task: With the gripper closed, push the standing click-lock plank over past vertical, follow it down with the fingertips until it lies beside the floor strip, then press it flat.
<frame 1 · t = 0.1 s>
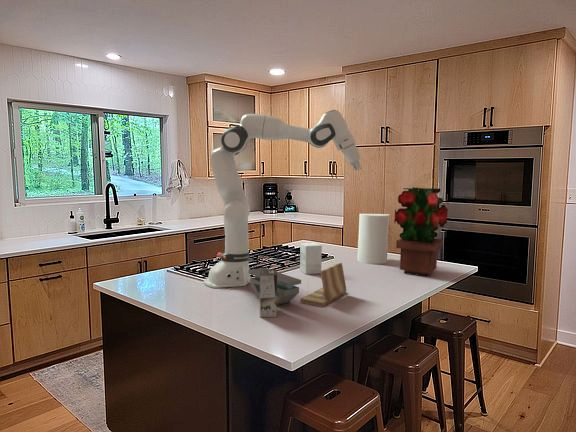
hand: (358, 169, 204), 54 cm above the worktop, tool tilted 30°, fingers open, 8 cm apart
cylinder: (372, 261, 261), on the worktop
supplement box: (310, 272, 231), on the worktop
coffee box: (267, 313, 168), on the worktop
plank: (334, 281, 185), point 8 cm above the worktop, hinge at 103.0°
floor strip: (334, 299, 186), on the worktop
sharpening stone: (273, 300, 183), on the worktop
potted plant: (418, 272, 236), on the worktop
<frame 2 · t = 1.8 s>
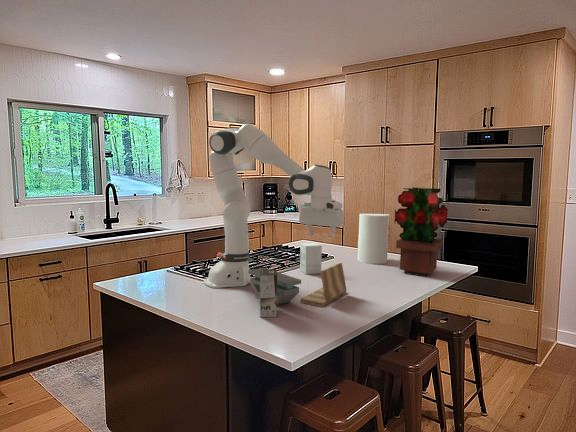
hand: (320, 235, 188), 26 cm above the worktop, tool pointing down, fingers open, 8 cm apart
nothing on the worktop moved.
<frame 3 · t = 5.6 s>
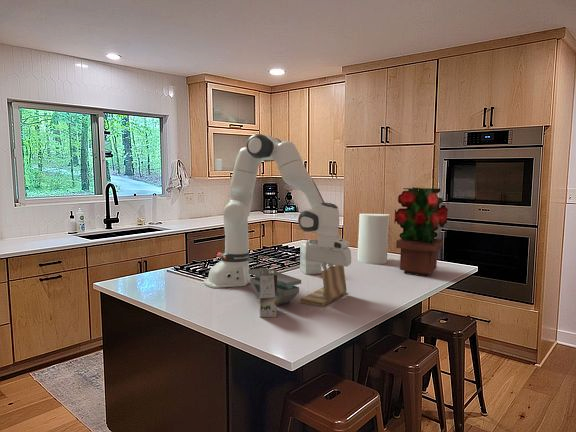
hand: (327, 273, 187), 11 cm above the worktop, tool pointing down, fingers closed
plank: (334, 281, 185), point 8 cm above the worktop, hinge at 99.9°, touching gripper
everything else where it was.
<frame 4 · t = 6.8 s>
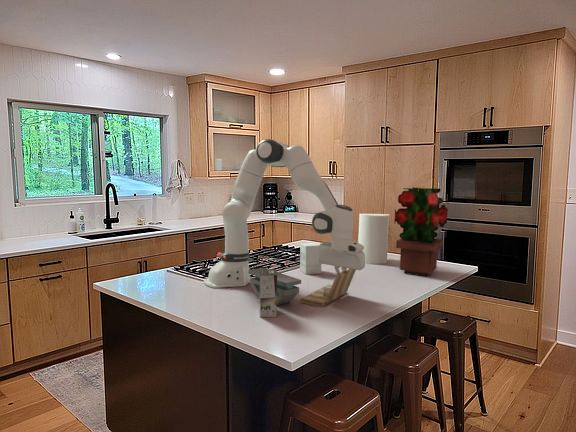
hand: (340, 276, 184), 10 cm above the worktop, tool pointing down, fingers closed
plank: (341, 284, 184), point 7 cm above the worktop, hinge at 69.7°, touching gripper
everything else where it was.
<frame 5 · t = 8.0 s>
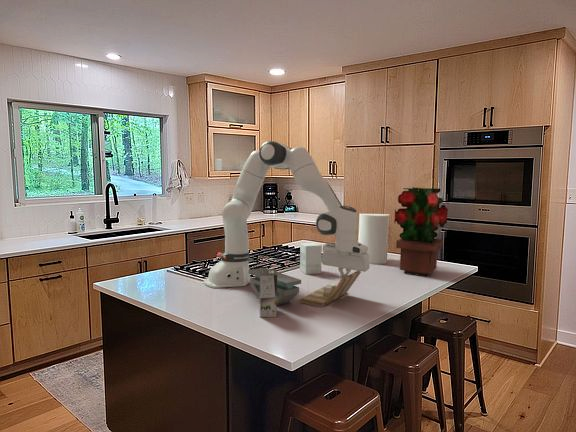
hand: (344, 278, 183), 10 cm above the worktop, tool pointing down, fingers closed
plank: (344, 286, 183), point 6 cm above the worktop, hinge at 57.9°, touching gripper
everything else where it was.
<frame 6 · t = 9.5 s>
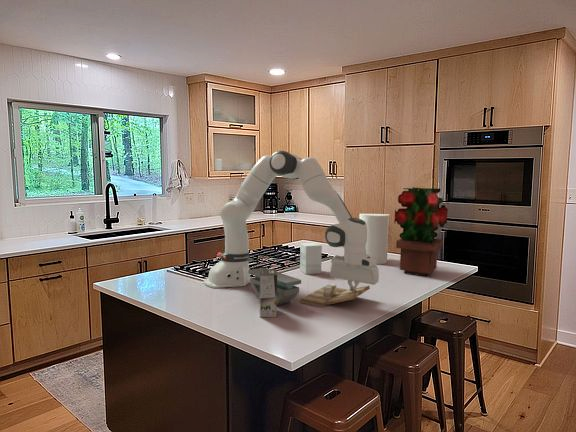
hand: (353, 291, 181), 5 cm above the worktop, tool pointing down, fingers closed
plank: (348, 294, 182), point 3 cm above the worktop, hinge at 21.5°, touching gripper
everything else where it was.
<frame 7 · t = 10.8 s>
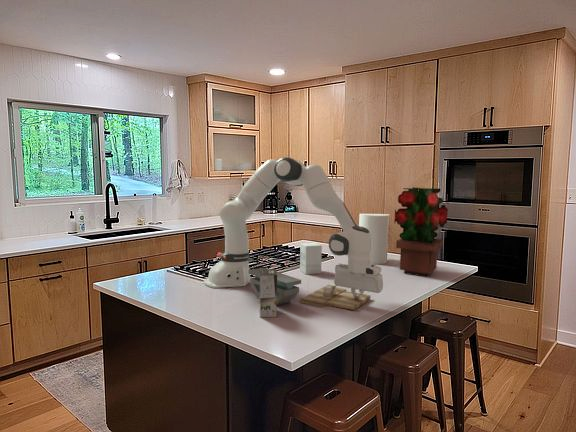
hand: (357, 299, 181), 2 cm above the worktop, tool pointing down, fingers closed
plank: (348, 299, 183), point 1 cm above the worktop, hinge at 1.9°, touching gripper
everything else where it was.
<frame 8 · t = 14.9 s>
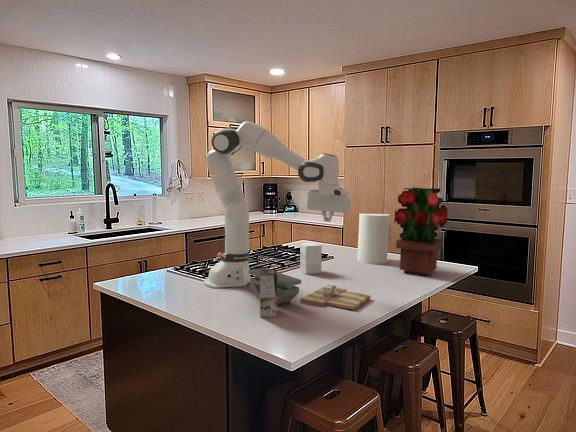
hand: (327, 221, 198), 31 cm above the worktop, tool pointing down, fingers closed
plank: (348, 299, 183), point 1 cm above the worktop, hinge at 1.9°
everything else where it was.
at the end: plank at +2° (first picture: +103°); the gripper is holding nothing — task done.
